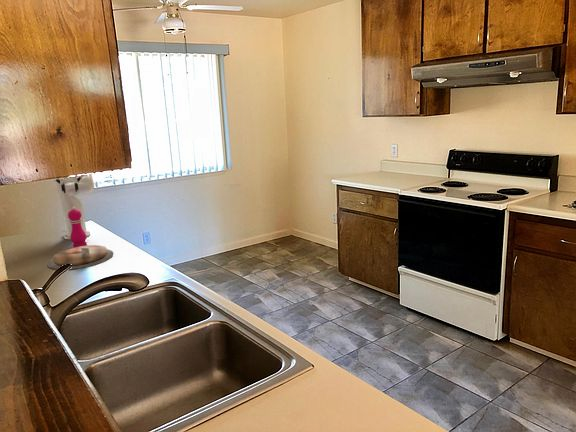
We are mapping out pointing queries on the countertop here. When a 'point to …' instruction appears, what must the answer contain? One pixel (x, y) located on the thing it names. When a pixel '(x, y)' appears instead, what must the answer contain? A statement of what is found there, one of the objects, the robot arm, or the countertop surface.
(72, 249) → the turntable
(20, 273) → the countertop surface
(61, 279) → the countertop surface
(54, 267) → the base
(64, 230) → the robot arm
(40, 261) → the countertop surface
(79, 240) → the pepper mill
